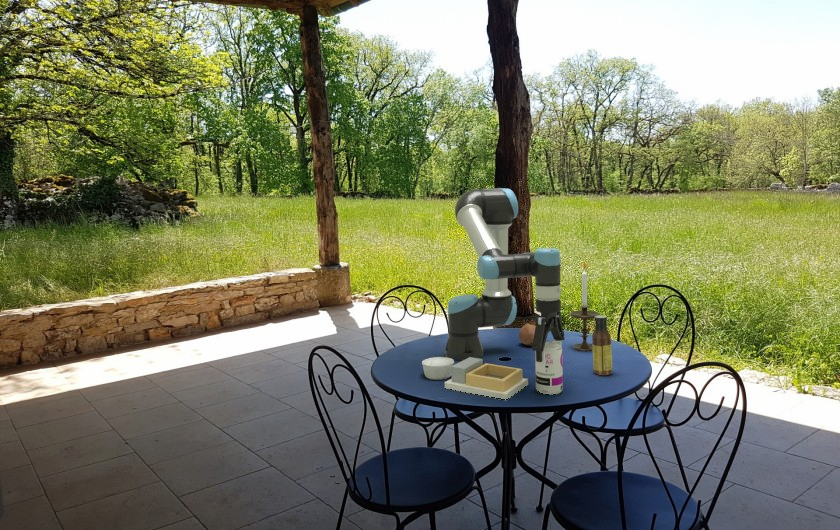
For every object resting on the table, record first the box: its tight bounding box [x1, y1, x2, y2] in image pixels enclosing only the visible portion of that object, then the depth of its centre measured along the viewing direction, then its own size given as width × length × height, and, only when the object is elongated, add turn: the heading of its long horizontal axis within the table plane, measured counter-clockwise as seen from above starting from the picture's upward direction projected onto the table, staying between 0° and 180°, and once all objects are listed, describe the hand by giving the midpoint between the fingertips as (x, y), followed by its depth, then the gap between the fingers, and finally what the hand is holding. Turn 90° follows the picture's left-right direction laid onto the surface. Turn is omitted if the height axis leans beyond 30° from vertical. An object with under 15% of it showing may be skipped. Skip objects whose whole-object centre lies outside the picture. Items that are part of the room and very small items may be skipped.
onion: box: [518, 322, 536, 347], centre depth 222 cm, size 10×9×10 cm
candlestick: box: [569, 261, 600, 353], centre depth 213 cm, size 11×11×35 cm
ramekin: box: [421, 356, 455, 381], centre depth 188 cm, size 11×11×5 cm
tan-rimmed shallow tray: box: [444, 357, 529, 401], centre depth 175 cm, size 22×16×7 cm
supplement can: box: [534, 341, 564, 396], centre depth 168 cm, size 8×8×15 cm
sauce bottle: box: [591, 314, 613, 376], centre depth 183 cm, size 6×6×20 cm
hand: (549, 366), depth 168 cm, fingers open, 13 cm apart
